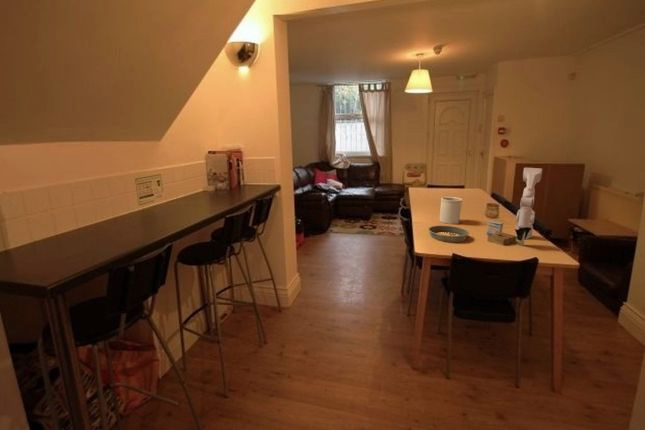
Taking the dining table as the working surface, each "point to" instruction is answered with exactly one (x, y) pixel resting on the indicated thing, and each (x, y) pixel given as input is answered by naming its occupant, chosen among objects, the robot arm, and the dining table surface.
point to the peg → (521, 240)
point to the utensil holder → (450, 210)
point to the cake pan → (450, 229)
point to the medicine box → (494, 227)
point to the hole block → (502, 238)
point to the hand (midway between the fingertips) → (521, 239)
